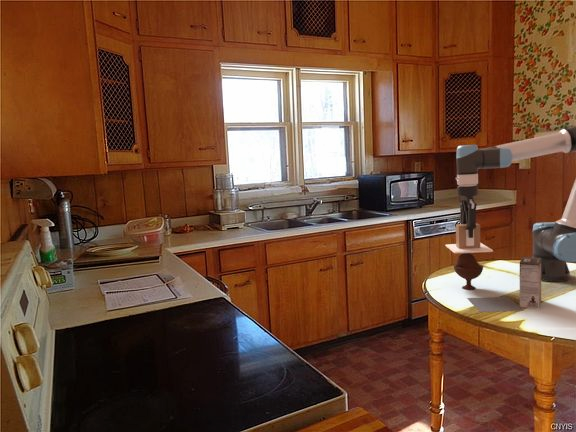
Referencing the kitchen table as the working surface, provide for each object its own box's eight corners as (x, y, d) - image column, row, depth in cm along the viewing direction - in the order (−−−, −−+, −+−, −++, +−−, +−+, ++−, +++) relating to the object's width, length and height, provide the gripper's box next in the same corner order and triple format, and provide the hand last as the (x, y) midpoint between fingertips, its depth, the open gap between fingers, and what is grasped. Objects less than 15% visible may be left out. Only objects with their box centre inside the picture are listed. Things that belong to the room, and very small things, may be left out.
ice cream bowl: (487, 293, 167) (486, 255, 165) (456, 293, 170) (455, 255, 168) (480, 285, 178) (480, 249, 176) (451, 285, 180) (451, 249, 178)
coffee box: (521, 299, 158) (521, 256, 156) (541, 301, 155) (541, 257, 153) (519, 307, 150) (519, 262, 148) (540, 310, 147) (540, 263, 145)
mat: (507, 297, 161) (507, 296, 161) (523, 311, 147) (523, 310, 147) (466, 299, 163) (466, 297, 162) (479, 312, 148) (479, 311, 148)
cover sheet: (480, 244, 178) (480, 221, 176) (493, 251, 164) (492, 226, 163) (445, 245, 179) (444, 222, 178) (454, 253, 165) (454, 228, 164)
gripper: (451, 184, 177) (452, 240, 180) (463, 187, 160) (464, 249, 163) (470, 183, 176) (471, 239, 179) (485, 186, 159) (485, 248, 162)
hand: (468, 244), depth 171 cm, fingers closed on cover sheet, 4 cm apart
